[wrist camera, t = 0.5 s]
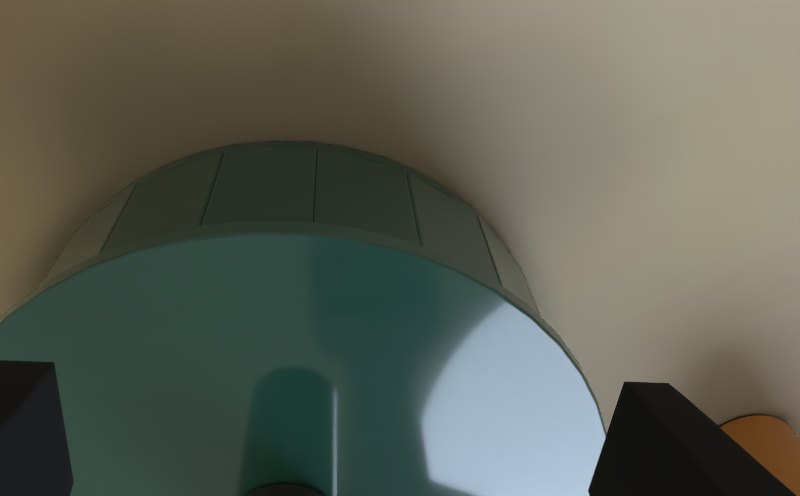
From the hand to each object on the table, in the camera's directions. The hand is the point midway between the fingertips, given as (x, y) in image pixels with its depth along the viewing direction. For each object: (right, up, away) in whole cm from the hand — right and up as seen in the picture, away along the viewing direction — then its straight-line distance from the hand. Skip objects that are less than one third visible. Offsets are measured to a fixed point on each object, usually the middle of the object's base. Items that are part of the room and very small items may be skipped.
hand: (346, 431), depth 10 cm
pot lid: (-2, -4, +8) cm, 9 cm away
